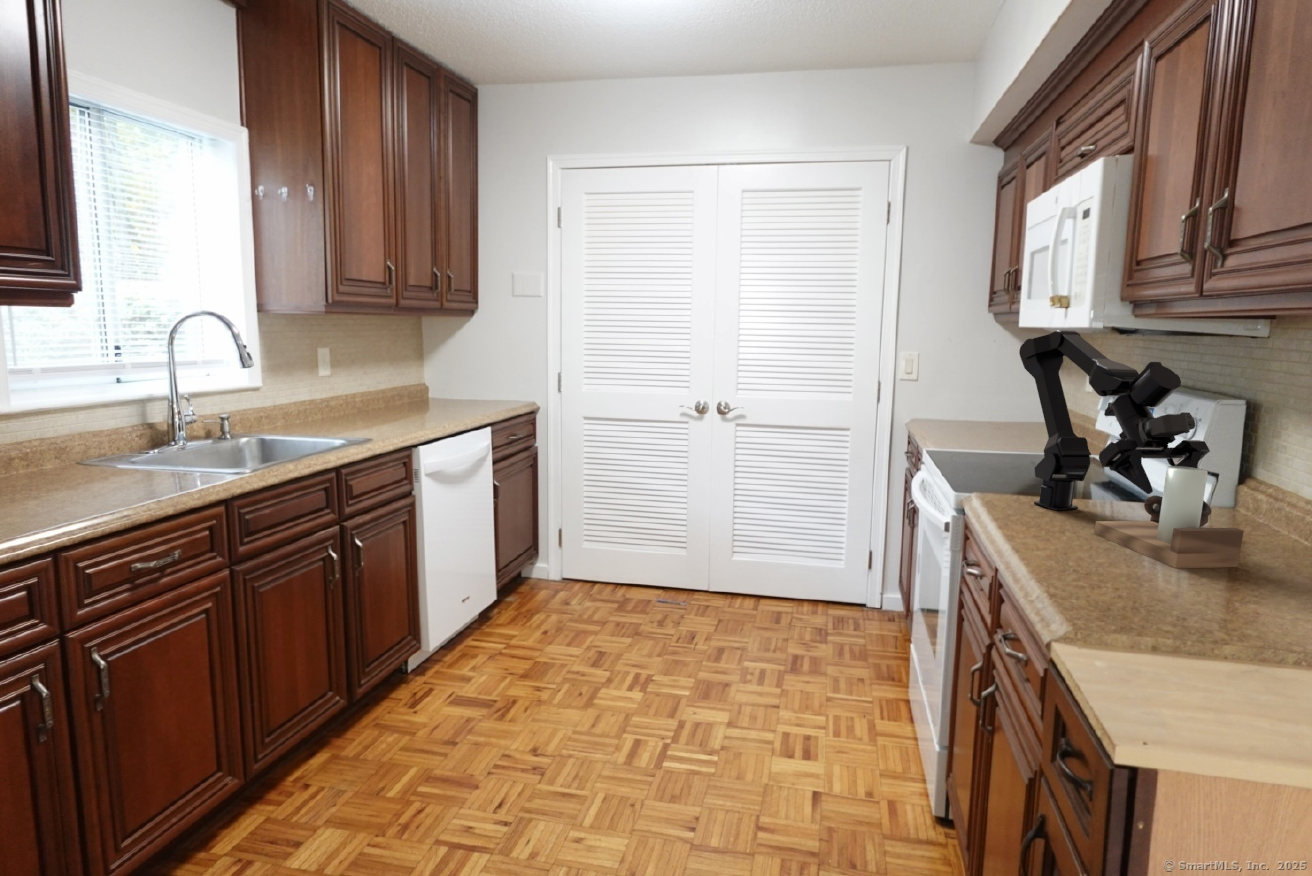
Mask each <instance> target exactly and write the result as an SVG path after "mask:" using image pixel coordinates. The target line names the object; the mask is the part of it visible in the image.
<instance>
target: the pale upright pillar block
mask: <svg viewBox="0 0 1312 876" xmlns="http://www.w3.org/2000/svg"><path fill="white" fill-rule="evenodd" d="M1207 479H1208V470H1205V469H1201V468H1192V467H1183V466H1171V465H1167V466H1166V472H1165V477H1164V485H1163V492H1162V497H1163V498H1162V505H1161V512H1160V519H1159V521H1158V524H1159V526H1158V533H1157V539H1158V540H1161V541H1163V542H1167V543H1171V542H1172V535H1173V528H1200V527H1199V526H1200V519H1201V513H1202V506H1203V500H1205V499H1204V498H1205V493H1206V492H1205V491H1206V485H1207Z"/></svg>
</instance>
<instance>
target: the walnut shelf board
mask: <svg viewBox="0 0 1312 876" xmlns="http://www.w3.org/2000/svg"><path fill="white" fill-rule="evenodd" d="M1158 526H1159V522H1157V521H1154V520H1153V521H1150V520H1134V521H1133V520H1119V521H1118V520H1112V521H1111V520H1109V521H1106V520H1104V521H1102V520H1101V521H1099V520H1098V521H1097V520H1096V521H1095V527H1094V531H1093V534H1094V535H1096V536H1098V537H1101V538H1103V539H1105V540H1108V541H1111V542H1113V543H1116V544H1118V545H1120V546H1121V547H1124V548H1126V549H1129V548H1130V550H1132V551H1134V552H1137V553H1139V554H1141V555H1144V556H1146V557H1147V558H1151V559H1153V560H1156V561H1157V562H1160V563H1162V564H1164V565H1168V566H1170V567H1172V568H1175V569H1189V568H1190V569H1193V568H1195V569H1196V568H1197V569H1199V568H1200V569H1201V568H1203V569H1205V568H1211V569H1212V568H1238V566H1239V562H1240V555H1241V549H1242V543H1243V537H1244V532H1245V531H1244V529H1241V528H1238V527H1199V528H1173V535H1172V542H1171V543H1167V542H1163V541H1161V540H1158V539H1157V533H1158Z"/></svg>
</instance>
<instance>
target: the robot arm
mask: <svg viewBox="0 0 1312 876" xmlns="http://www.w3.org/2000/svg"><path fill="white" fill-rule="evenodd" d="M1018 352H1019V353H1018V354H1019V357H1020V360H1021V363H1022V365H1023V368H1024V369H1025V371H1027V373H1028V374H1030V376H1031V377H1032V378H1033V379H1034V381H1035V385H1036V389H1037V394H1038V398H1039V403H1040V406H1041V410H1042V414H1043V415H1042V416H1043V421H1044V423H1045V427H1046V428H1045V429H1046V432H1047V436H1048V437H1047V438H1048V439H1047V441H1046V444H1045V446H1044V448H1043V456H1044V457H1043V458H1042V459H1041V460H1040V461H1039V462H1038V463H1037V464H1036V465H1035V466H1034V476H1035V478H1038V479H1040V480H1041V481H1042V482H1041V485H1040V490H1039V491H1040V493H1039V500H1036V501H1035V500H1034V501H1033V504H1034V505H1037V506H1040V507H1044V508H1048V509H1052V510H1054V511H1058V512H1059V511H1066V510H1067V511H1069V510H1079V505H1074V504H1073V501H1074V492H1075V485H1076V482H1084V481H1085V478H1086V476H1087V473H1088V471H1089V468H1090V466H1091V456H1092V453H1091V451H1090V449H1089V444H1088V440H1087V438H1086V437H1083V436H1078V435H1076V434H1075V432H1074V428H1073V424H1072V421H1071V417H1070V414H1069V410H1068V408H1069V407H1068V405H1067V400H1066V396H1065V392H1064V387H1063V385H1062V381H1061V376H1060V372H1061V371H1060V370H1061V368H1062V366H1063V364H1064V358H1065V357H1066V358H1067V359H1068V360H1070V361H1071V362H1072V363H1073V364H1074V365H1076V366H1077V368H1079V369H1080V370H1081V371H1083V372H1084V373H1085V374H1086V376H1088V384H1089V386H1090V387H1091V388H1092V390H1093V391H1094V392H1095V393H1096V394H1097V396H1100V397H1103V398H1104V397H1108V398H1109V397H1113V398H1115V399H1114V401H1109V402H1108V403H1107V407H1106V408H1105V410H1104V414H1103V415H1104V416H1105V417H1115V419H1116V420H1117V422H1118V425H1119V426H1120V429H1121V433H1119V434H1118V437H1119V438H1114V439H1112V440H1111V442H1109V443H1108V444H1107V445H1106V446H1105V447H1104V448H1103V449H1102V450H1101V451H1100V452H1099V454H1098V460H1099V462H1100V464H1101V466H1102V468H1109V471H1110V472H1111V471H1112V472H1113V471H1114V472H1116V473H1117V474H1119V475H1120V476H1122V478H1125V479H1126V480H1128V481H1129V482H1130V483H1131V484H1134V485H1135V486H1136V487H1137V488H1138V489H1140V490H1141V491H1143V492H1144V493H1145V494H1147V495H1151V494H1152V493H1153V491H1154V490H1153V487H1152V485H1151V484H1152V483H1151V482H1150V479H1149V476H1148V475H1147V473H1146V470H1145V467H1144V466H1143V463H1142V461H1143V459H1153V460H1154V459H1157V460H1158V459H1159V460H1161V459H1162V460H1163V459H1164V460H1165V459H1166V460H1167V462H1168V463H1167V464H1169V466H1183V467H1192V468H1198V466H1199V462H1200V461H1201V460H1202V459H1203V458H1204V457H1205V456H1207V454H1208V453H1210V452H1211V451H1210V448H1209V446H1208V444H1207V443H1206V441H1205V440H1201V439H1183V440H1181V441H1180V442H1179V443H1177V445H1176V446H1174V447H1169V444H1172V443H1173V442H1174V441H1176V440H1177V439H1176V436H1179V435H1182V434H1189V433H1190V432H1191V430H1194V429H1195V428H1196V421H1195V418H1194V416H1193V415H1192V414H1191V412H1180V414H1179V413H1176V414H1174V413H1173V414H1162V415H1160V416H1157V417H1155V416H1154V415H1153V413H1152V411H1151V409H1150V408H1157V407H1159V406H1160V405H1161V404H1163V403H1164V402H1165V401H1166V400H1167V399H1168V398H1169V397H1171V396H1172V394H1174V393H1175V391H1176V390H1178V389H1180V387H1181V384H1182V380H1181V378H1180V376H1179V374H1177V373H1175V372H1174V371H1173V370H1172V369H1171V368H1168V367H1167V366H1164V365H1163V363H1162V362H1161V361H1150V362H1149V363H1148V364H1146V366H1145V367H1144V369H1143V370H1141V372H1140V373H1139V372H1138V370H1137V369H1135V368H1133V367H1131V366H1129V365H1126V364H1124V363H1121V362H1117V361H1114V360H1111V359H1110V358H1108V357H1107V356H1105V354H1103V353H1102V352H1101V351H1099V350H1098V349H1097V348H1095V346H1093V345H1092V344H1090V342H1088V341H1087V340H1085V339H1084V338H1083V337H1082V336H1081V334H1080V333H1079V332H1078V331H1077V330H1064V329H1060V330H1059V329H1057V330H1056V331H1055V330H1054V331H1053V332H1052V331H1051V333H1048V334H1044V335H1041V336H1036V337H1033V338H1027V339H1025V341H1024V342H1023V343H1022V344H1021V345H1020V348H1019V351H1018ZM1198 469H1199V468H1198Z"/></svg>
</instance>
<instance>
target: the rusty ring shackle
mask: <svg viewBox="0 0 1312 876" xmlns="http://www.w3.org/2000/svg"><path fill="white" fill-rule="evenodd" d="M1162 498H1163V496H1160V495H1155V494H1154V495H1151V496H1149V497H1147V498H1146V499H1145V500H1144V510H1145V512H1146V513H1147V514H1148V515H1150V519H1149V521H1153V522H1154V521H1155V522H1159V519H1160V512H1161V505H1162ZM1154 505H1155V506H1154ZM1212 512H1213V511H1212V509H1211V507H1210V505H1209V504H1208V503H1207V502H1206V501H1205V499H1203V506H1202V513H1201V519H1200V526H1199V528H1203V526H1205V525H1207V524H1208V522H1209V516H1210V515H1212Z"/></svg>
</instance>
